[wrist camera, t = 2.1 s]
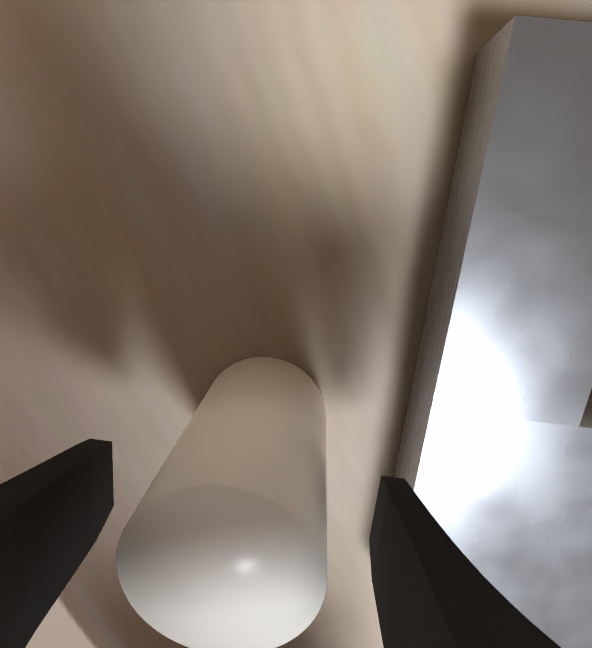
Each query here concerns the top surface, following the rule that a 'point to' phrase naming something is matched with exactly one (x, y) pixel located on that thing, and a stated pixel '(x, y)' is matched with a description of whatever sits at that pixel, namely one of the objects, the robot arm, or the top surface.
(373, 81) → the top surface
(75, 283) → the top surface
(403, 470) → the plate
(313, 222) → the top surface
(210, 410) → the white rounded cylinder
